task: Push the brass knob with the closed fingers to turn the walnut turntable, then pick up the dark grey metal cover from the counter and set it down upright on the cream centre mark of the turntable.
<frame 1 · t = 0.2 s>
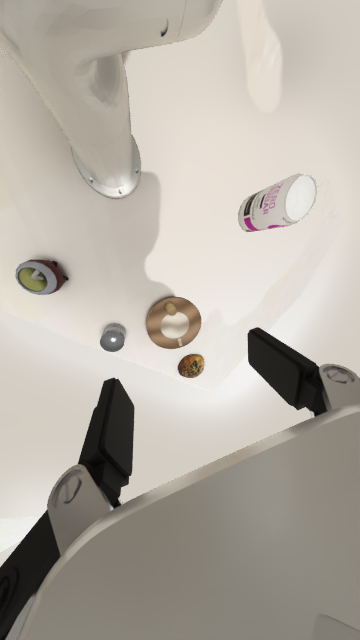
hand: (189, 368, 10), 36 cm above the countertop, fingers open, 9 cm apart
bread roll: (191, 364, 60), on the countertop
turntable: (176, 327, 45), point 5 cm above the countertop, hinge at 0.0°
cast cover: (115, 332, 46), on the countertop
supplement can: (249, 215, 42), on the countertop
mate gourd: (55, 272, 36), on the countertop
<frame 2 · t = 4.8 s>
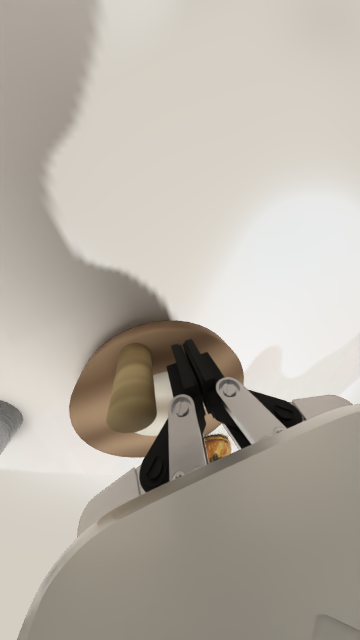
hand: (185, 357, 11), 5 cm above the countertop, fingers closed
bread roll: (202, 450, 29), on the countertop
turntable: (170, 420, 14), point 5 cm above the countertop, hinge at 7.9°, touching gripper
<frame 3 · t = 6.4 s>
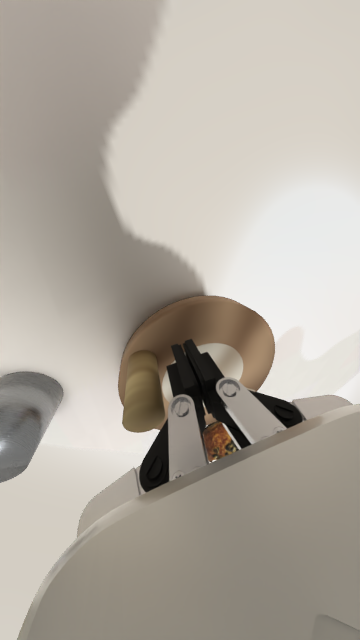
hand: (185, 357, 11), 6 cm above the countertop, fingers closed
bread roll: (221, 431, 30), on the countertop
turntable: (210, 390, 15), point 5 cm above the countertop, hinge at 46.6°, touching gripper
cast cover: (29, 393, 16), on the countertop
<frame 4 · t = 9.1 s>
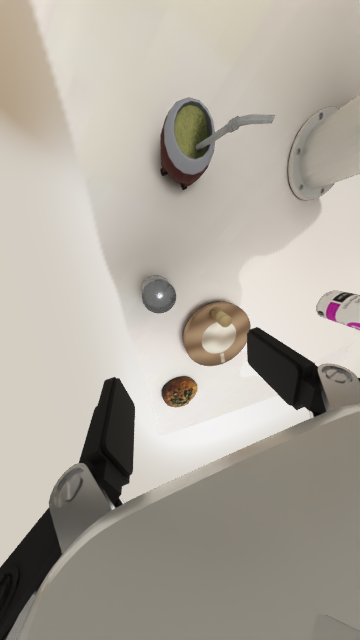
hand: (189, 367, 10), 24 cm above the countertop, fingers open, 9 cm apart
bread roll: (179, 388, 46), on the countertop
turntable: (222, 341, 35), point 5 cm above the countertop, hinge at 46.9°
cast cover: (156, 290, 32), on the countertop
supplement can: (325, 303, 46), on the countertop
mate gourd: (180, 167, 25), on the countertop
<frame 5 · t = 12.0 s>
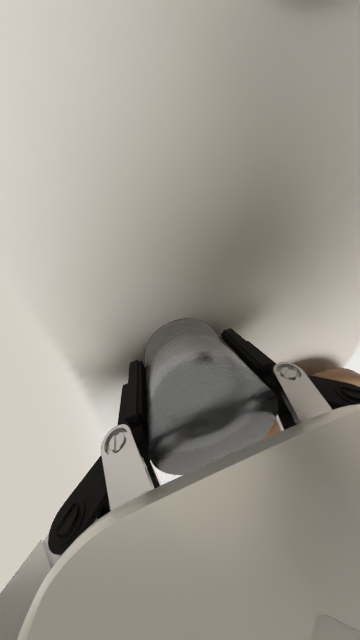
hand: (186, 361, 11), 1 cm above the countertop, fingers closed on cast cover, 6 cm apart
turntable: (332, 460, 15), point 5 cm above the countertop, hinge at 46.9°
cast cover: (183, 353, 12), on the countertop, touching gripper
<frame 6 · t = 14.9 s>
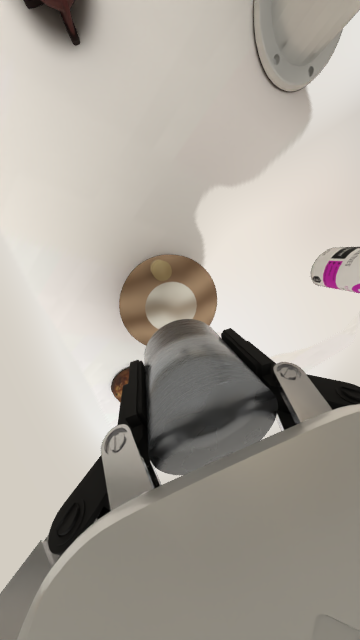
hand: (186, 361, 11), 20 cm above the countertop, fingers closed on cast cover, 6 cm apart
bread roll: (137, 381, 36), on the countertop
turntable: (173, 311, 25), point 5 cm above the countertop, hinge at 46.9°
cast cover: (183, 353, 12), point 19 cm above the countertop, touching gripper
supplement can: (322, 267, 35), on the countertop
when the fingers open (6 cm above the countertop, at t = 18.2 s): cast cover drops 1 cm, resting on turntable.
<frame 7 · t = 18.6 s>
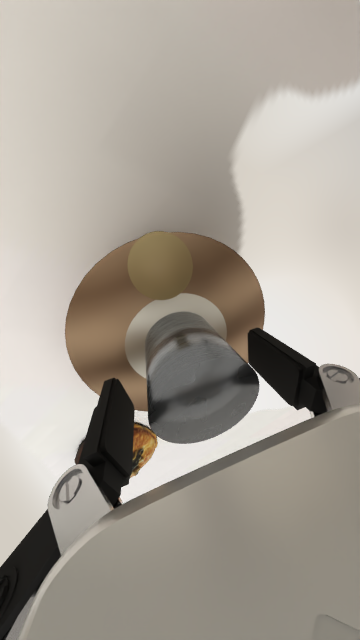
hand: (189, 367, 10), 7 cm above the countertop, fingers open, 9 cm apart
bread roll: (120, 442, 23), on the countertop
turntable: (183, 354, 12), point 5 cm above the countertop, hinge at 46.9°, touching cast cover
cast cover: (180, 343, 13), point 4 cm above the countertop, touching turntable
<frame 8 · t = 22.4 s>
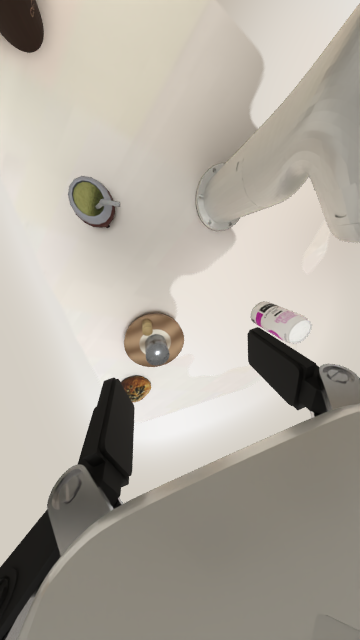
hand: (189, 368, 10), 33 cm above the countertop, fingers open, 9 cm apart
bread roll: (135, 386, 53), on the countertop
turntable: (156, 346, 42), point 5 cm above the countertop, hinge at 46.9°, touching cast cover
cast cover: (155, 343, 43), point 4 cm above the countertop, touching turntable
supplement can: (259, 311, 53), on the countertop
mate gourd: (102, 211, 32), on the countertop
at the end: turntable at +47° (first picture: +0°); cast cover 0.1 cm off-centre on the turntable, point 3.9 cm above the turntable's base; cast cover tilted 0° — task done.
